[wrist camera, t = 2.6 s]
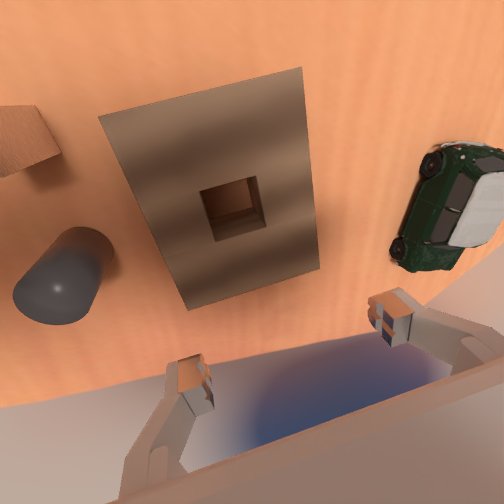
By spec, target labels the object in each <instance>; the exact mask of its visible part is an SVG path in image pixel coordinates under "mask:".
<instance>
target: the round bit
mask: <svg viewBox="0 0 504 504" xmlns="http://www.w3.org/2000/svg"><path fill="white" fill-rule="evenodd" d="M112 257H113V247H112V244H111V242H110V241H109V239H108V238H107V237H106V236H105V235H103V234H102V233H100V232H99V231H97V230H94V229H91V228H87V227H75V228H71V229H68V230H66V231H65V232H63V233H62V234H61V235H60V236H59V238H58V239H57V240H56V241H55V242H54V243H53V244H52V245H51V246H50V248H49V249H48V250H47V251H46V252H45V253H44V254H43V255H42V256H41V257H40V259H39V260H38V261H37V262H36V263H35V264H34V265H33V266H32V267H31V269H30V270H29V271H28V272H27V273H26V274H25V275H24V276H23V277H22V279H21V280H20V281H19V282H18V283H17V284H16V286H15V288H14V290H13V300H14V303H15V305H16V307H17V308H18V309H19V310H20V311H21V312H22V313H23V314H24V315H25V316H27V317H29V318H30V319H32V320H34V321H37V322H40V323H44V324H49V325H65V324H70V323H73V322H76V321H78V320H80V319H81V318H83V317H84V316H85V315H86V314H87V313H88V311H89V309H90V307H91V305H92V303H93V300H94V298H95V296H96V294H97V291H98V289H99V287H100V285H101V282H102V280H103V278H104V276H105V273H106V271H107V269H108V266H109V264H110V262H111V260H112Z"/></svg>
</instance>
